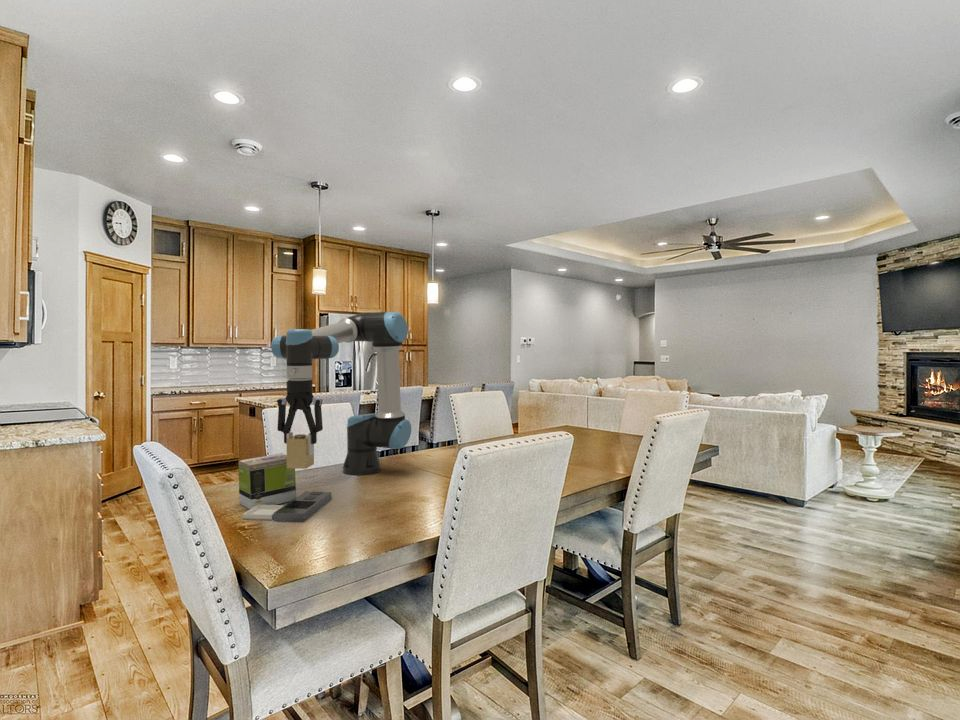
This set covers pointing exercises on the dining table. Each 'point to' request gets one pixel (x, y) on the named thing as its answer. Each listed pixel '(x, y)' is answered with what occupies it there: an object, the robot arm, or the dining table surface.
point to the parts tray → (262, 512)
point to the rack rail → (302, 507)
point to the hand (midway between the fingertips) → (300, 454)
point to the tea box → (266, 481)
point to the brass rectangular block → (298, 452)
